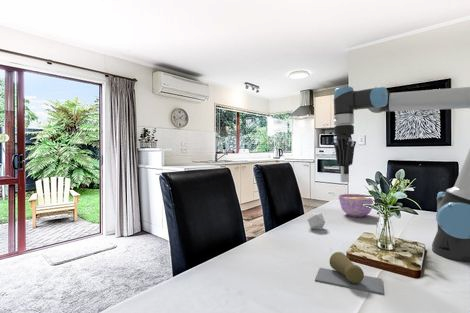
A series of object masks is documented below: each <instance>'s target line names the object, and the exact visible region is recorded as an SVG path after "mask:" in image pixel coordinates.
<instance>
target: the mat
mask: <svg viewBox="0 0 470 313" xmlns="http://www.w3.org/2000/svg"><path fill="white" fill-rule="evenodd" d="M314 282H319V283H324V284H330V285H334V286H339V287H345V288H349V289H355V290H360V291H365V292H370V293H373V294H379V295H383V296H384V286H383V279H382V277H381V278H380V277H375V276H369V275H364V278H363V280H362V281H361V282H360V283H357V284H354V283H351V282H349V281H348V280H347V278H346V277H345V275H343V274H341V273H339V272H338V271H336V270H334V269H329V268H324V267H319V269H318V271H317V274H316V275H315V279H314Z"/></svg>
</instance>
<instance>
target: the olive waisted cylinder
mask: <svg viewBox="0 0 470 313" xmlns="http://www.w3.org/2000/svg"><path fill="white" fill-rule="evenodd" d="M329 265H330V267H331V269H332V270H336V271H338V272H339V273H341V274H343V275H345V277H346V278H347V280H348V281H349V282H351V283H354V284H357V283H360V282H361V281H362V280H363V278H364V276H365V272H364V270H363V269H362V268H361V267H360V266H359V265H357V264H354V262H352V260H350V258H349V257H348V256H347V255H346V254H345V253H343V252H341V251H336V252H334V253H332V254H331V256H330V257H329Z"/></svg>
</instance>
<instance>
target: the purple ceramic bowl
mask: <svg viewBox="0 0 470 313" xmlns="http://www.w3.org/2000/svg"><path fill="white" fill-rule="evenodd" d="M364 196H368V194H360V193H357V194H356V193H344V194H340V195H339V194H338V201H339V204H340V207H341V210H342V211H343V213H345V214H347V215H348V216H350V217H354V218H362V217H364V216H368V215H369V214H370V213H371V212H372V209H373V207H372V208H369V207H366V206H363V204H373V205H374V202H373V201H372V199H371V198H362V197H364Z"/></svg>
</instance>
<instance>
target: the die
mask: <svg viewBox="0 0 470 313" xmlns="http://www.w3.org/2000/svg"><path fill="white" fill-rule="evenodd" d="M307 223H308V225H309V227H310V230H319V231H322V230H323V228H324V225H325V224H326V221H325V218H324V215H323V213H322V212H321V213H320V212H319V213H318V212H311V213H310V214H309V215H308V218H307Z"/></svg>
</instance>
